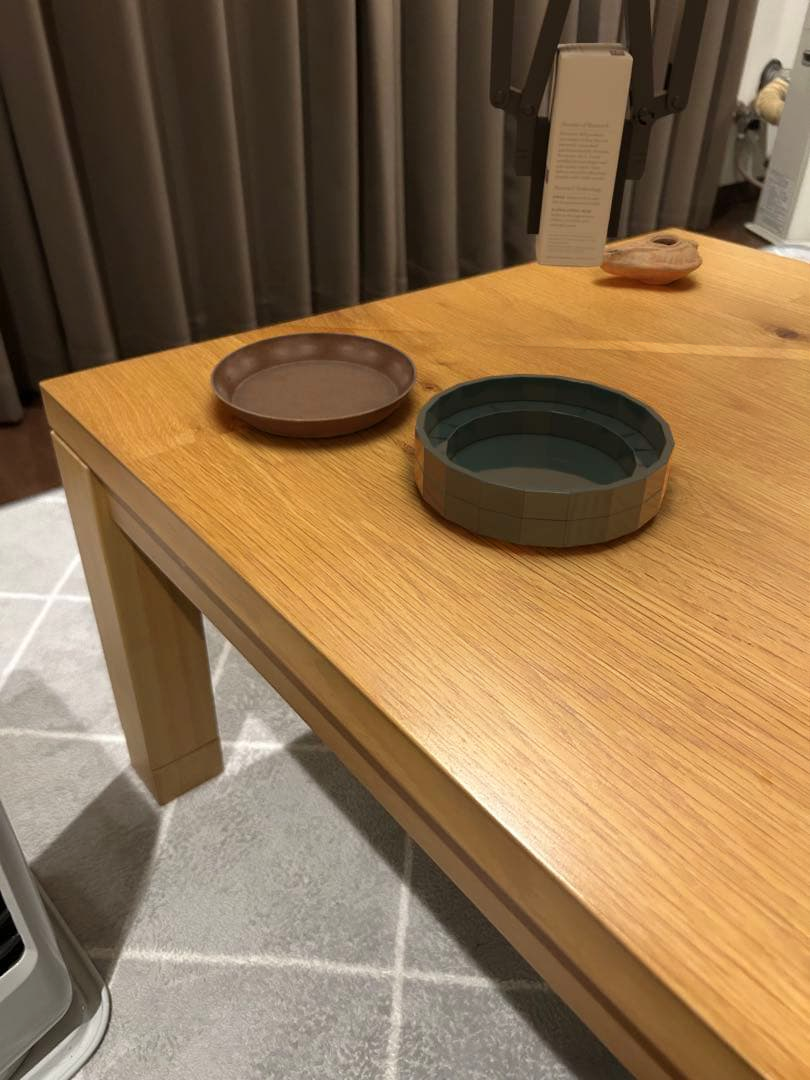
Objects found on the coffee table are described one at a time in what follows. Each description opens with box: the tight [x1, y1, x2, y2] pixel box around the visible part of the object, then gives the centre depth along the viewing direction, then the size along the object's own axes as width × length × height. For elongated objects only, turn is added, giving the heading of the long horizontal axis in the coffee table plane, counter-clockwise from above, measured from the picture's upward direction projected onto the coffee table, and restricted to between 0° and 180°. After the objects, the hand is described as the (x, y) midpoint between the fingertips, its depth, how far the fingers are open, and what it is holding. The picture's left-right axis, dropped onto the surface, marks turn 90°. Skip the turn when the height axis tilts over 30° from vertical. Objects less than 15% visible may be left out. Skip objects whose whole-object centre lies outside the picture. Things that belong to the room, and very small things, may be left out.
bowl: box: [413, 373, 676, 548], centre depth 63 cm, size 18×18×5 cm
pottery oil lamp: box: [599, 231, 704, 286], centre depth 103 cm, size 9×12×7 cm
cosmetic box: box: [535, 42, 633, 268], centre depth 54 cm, size 6×4×12 cm
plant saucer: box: [209, 331, 418, 439], centre depth 75 cm, size 18×18×3 cm
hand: (570, 229), depth 57 cm, fingers closed on cosmetic box, 4 cm apart
